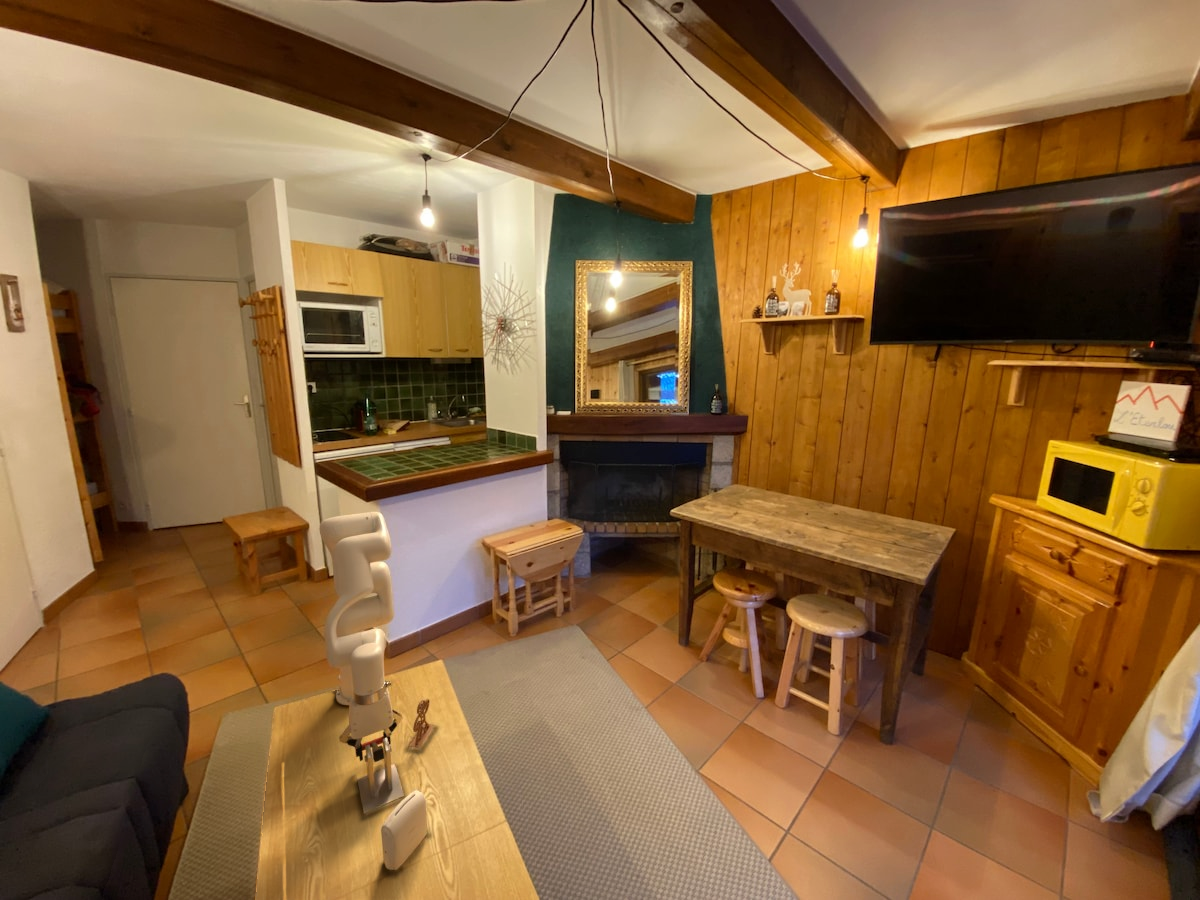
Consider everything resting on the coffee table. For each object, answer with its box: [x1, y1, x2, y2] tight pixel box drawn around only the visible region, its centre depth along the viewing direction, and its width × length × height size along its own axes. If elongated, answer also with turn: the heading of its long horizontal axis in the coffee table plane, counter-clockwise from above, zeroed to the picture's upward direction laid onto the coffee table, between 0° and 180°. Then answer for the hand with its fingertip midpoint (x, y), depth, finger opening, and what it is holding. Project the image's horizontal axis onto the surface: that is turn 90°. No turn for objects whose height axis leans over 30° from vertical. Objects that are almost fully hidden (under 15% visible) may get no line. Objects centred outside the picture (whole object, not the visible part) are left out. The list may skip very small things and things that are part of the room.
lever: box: [361, 735, 384, 763], centre depth 122 cm, size 12×6×2 cm, turn 34°
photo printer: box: [380, 789, 428, 871], centre depth 105 cm, size 10×4×12 cm, turn 156°
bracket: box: [357, 738, 405, 815], centre depth 119 cm, size 11×9×13 cm
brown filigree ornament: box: [408, 698, 436, 749], centre depth 136 cm, size 9×4×12 cm, turn 171°
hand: (373, 751), depth 127 cm, fingers closed on lever, 5 cm apart
